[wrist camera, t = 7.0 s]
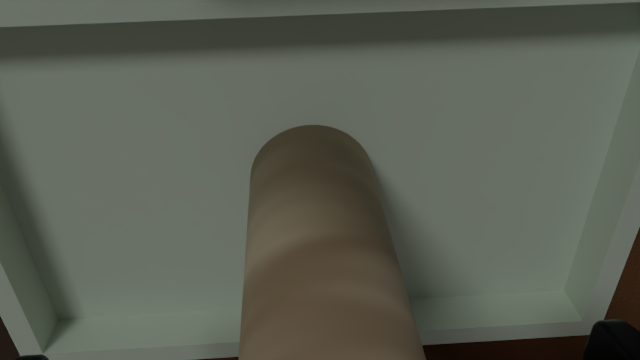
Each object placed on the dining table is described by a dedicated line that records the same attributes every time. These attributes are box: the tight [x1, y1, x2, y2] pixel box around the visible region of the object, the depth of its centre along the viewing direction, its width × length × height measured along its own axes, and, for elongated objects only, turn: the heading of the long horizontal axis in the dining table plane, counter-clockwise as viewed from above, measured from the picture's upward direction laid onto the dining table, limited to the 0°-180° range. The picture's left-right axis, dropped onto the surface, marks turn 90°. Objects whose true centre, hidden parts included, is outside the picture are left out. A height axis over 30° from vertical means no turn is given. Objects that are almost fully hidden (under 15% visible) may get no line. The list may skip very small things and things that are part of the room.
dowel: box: [239, 125, 426, 360], centre depth 10 cm, size 3×3×8 cm
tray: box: [0, 0, 640, 360], centre depth 13 cm, size 16×10×2 cm, turn 91°
